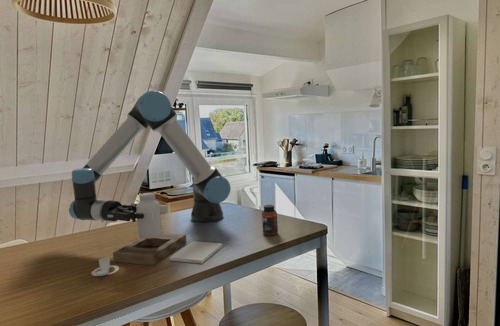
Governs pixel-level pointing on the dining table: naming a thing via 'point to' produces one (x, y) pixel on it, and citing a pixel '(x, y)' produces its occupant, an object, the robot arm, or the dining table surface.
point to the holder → (149, 256)
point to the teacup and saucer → (104, 268)
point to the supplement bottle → (269, 220)
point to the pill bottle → (149, 226)
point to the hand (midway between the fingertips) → (160, 212)
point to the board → (196, 252)
